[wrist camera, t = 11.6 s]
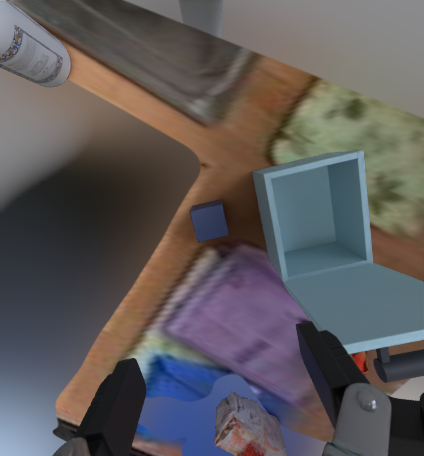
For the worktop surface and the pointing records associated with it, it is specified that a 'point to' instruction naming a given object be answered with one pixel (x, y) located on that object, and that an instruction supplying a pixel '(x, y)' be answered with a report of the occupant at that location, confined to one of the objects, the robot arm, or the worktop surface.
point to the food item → (247, 429)
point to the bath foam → (31, 48)
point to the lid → (368, 314)
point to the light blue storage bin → (315, 214)
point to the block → (209, 220)
